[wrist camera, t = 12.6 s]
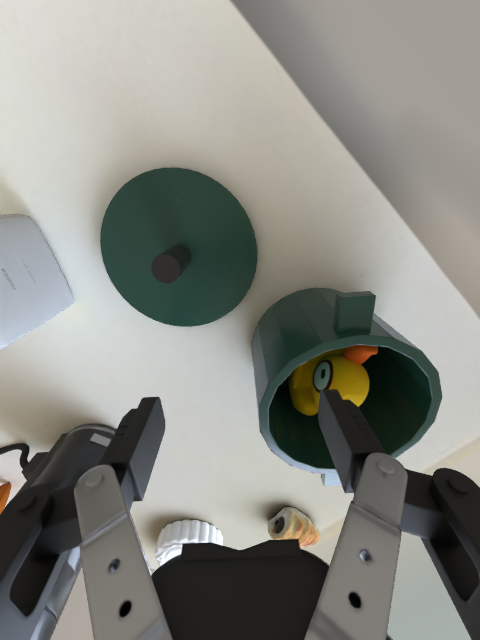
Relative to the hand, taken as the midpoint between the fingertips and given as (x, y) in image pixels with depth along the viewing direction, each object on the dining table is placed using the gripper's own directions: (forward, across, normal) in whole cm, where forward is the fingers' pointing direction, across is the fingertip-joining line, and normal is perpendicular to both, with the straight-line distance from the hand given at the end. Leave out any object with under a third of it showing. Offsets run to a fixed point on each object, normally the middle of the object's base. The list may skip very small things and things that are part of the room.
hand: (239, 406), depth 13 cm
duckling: (+17, -9, +7) cm, 20 cm away
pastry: (+18, -8, +43) cm, 47 cm away
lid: (+17, +6, -5) cm, 18 cm away
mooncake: (+18, +11, +47) cm, 52 cm away
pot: (+17, -9, +7) cm, 21 cm away
